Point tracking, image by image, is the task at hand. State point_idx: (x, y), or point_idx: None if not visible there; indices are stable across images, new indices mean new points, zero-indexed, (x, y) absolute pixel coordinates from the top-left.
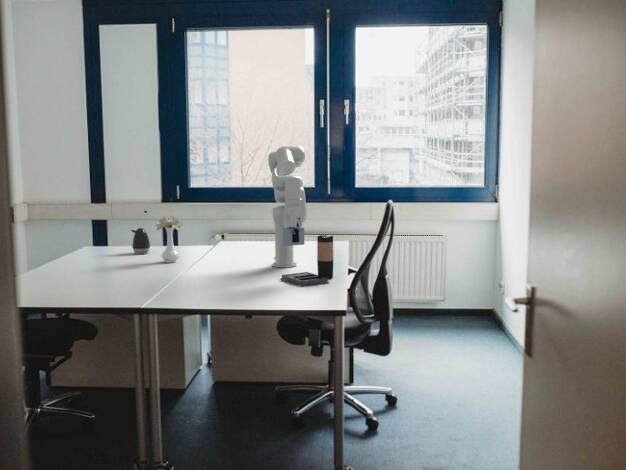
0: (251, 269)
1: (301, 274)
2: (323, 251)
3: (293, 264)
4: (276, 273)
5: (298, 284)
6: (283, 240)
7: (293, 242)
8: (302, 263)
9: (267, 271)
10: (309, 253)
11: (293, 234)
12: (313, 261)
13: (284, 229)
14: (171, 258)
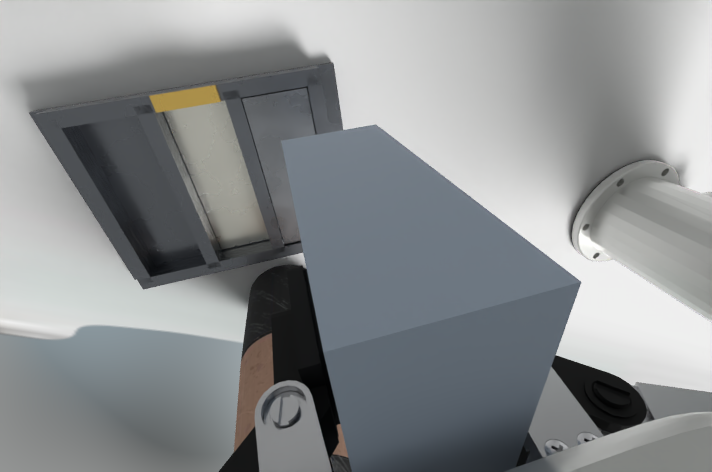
0: (692, 15)
1: None
2: (243, 407)
3: (581, 243)
4: (507, 112)
5: (89, 102)
6: (375, 151)
7: (288, 270)
8: (596, 284)
9: (582, 85)
10: (693, 337)
11: (299, 369)
12: (592, 322)
13: (409, 303)
14: None
